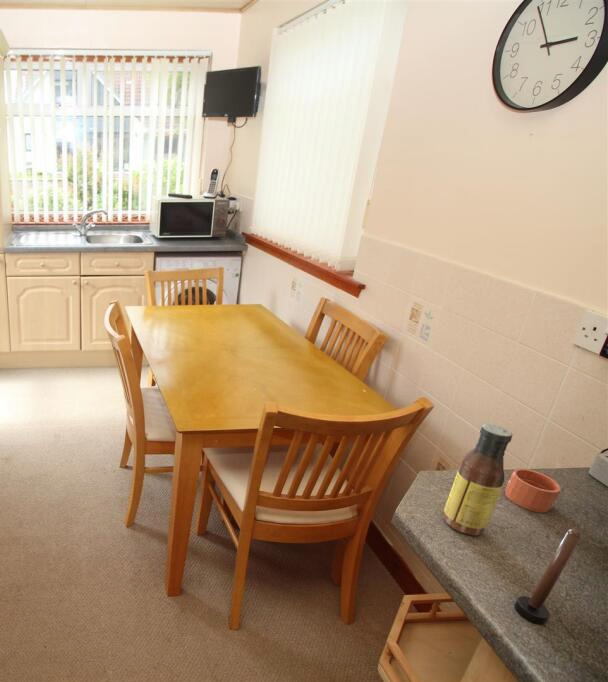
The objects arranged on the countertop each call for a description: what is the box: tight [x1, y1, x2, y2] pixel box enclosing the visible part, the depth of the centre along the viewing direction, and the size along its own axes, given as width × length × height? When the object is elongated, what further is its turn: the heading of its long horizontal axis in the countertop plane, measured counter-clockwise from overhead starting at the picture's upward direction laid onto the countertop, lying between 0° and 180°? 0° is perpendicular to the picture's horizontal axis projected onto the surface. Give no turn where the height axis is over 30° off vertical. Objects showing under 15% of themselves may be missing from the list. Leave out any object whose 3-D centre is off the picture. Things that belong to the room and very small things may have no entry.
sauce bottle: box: [443, 423, 513, 537], centre depth 82 cm, size 6×6×20 cm
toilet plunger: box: [514, 528, 583, 626], centre depth 66 cm, size 4×4×16 cm
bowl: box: [504, 468, 562, 514], centre depth 92 cm, size 7×7×5 cm
